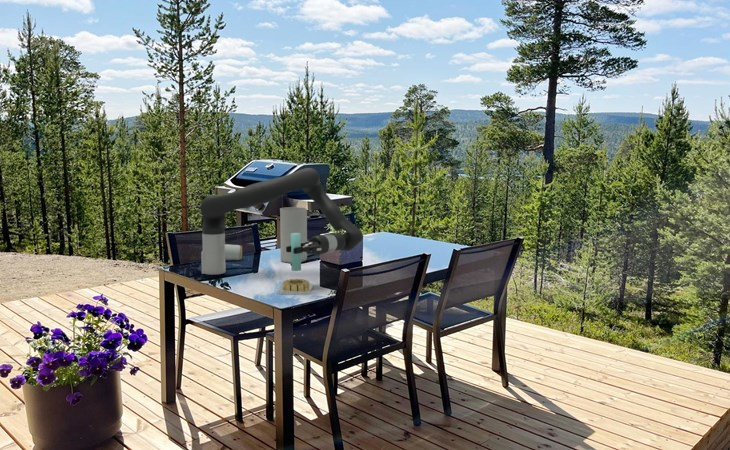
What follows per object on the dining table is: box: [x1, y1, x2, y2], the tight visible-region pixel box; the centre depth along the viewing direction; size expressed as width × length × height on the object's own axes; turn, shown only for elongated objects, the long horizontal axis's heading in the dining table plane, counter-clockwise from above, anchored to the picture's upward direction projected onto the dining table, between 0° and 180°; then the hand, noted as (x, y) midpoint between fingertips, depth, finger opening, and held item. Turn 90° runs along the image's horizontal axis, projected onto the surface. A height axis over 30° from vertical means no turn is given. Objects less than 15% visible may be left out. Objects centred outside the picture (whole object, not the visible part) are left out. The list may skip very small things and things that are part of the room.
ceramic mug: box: [225, 243, 243, 261], centre depth 261 cm, size 11×8×8 cm
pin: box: [290, 233, 302, 272], centre depth 206 cm, size 4×4×14 cm
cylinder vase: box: [279, 206, 308, 264], centre depth 259 cm, size 12×12×25 cm
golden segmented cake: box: [276, 278, 315, 296], centre depth 208 cm, size 12×13×3 cm
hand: (290, 250), depth 204 cm, fingers closed on pin, 3 cm apart
